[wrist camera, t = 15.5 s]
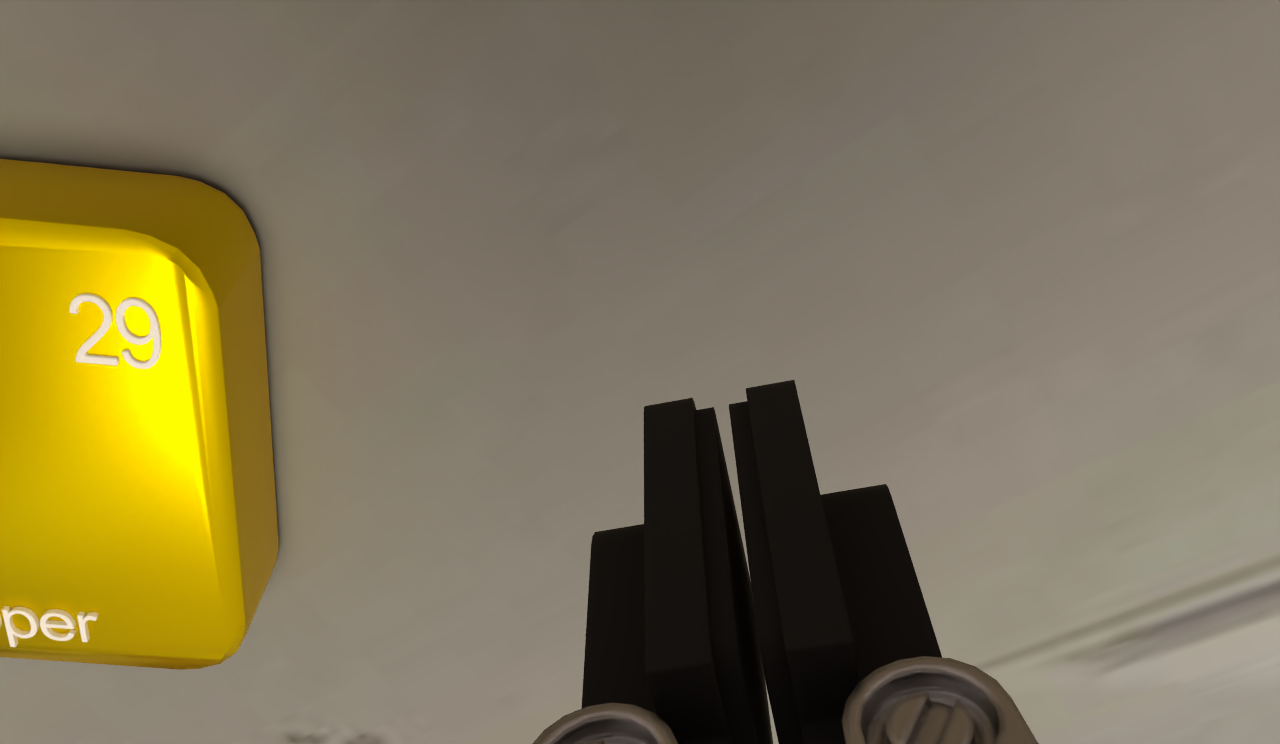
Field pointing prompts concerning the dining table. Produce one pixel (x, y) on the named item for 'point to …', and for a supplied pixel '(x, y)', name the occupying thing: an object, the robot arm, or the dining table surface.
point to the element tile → (130, 419)
